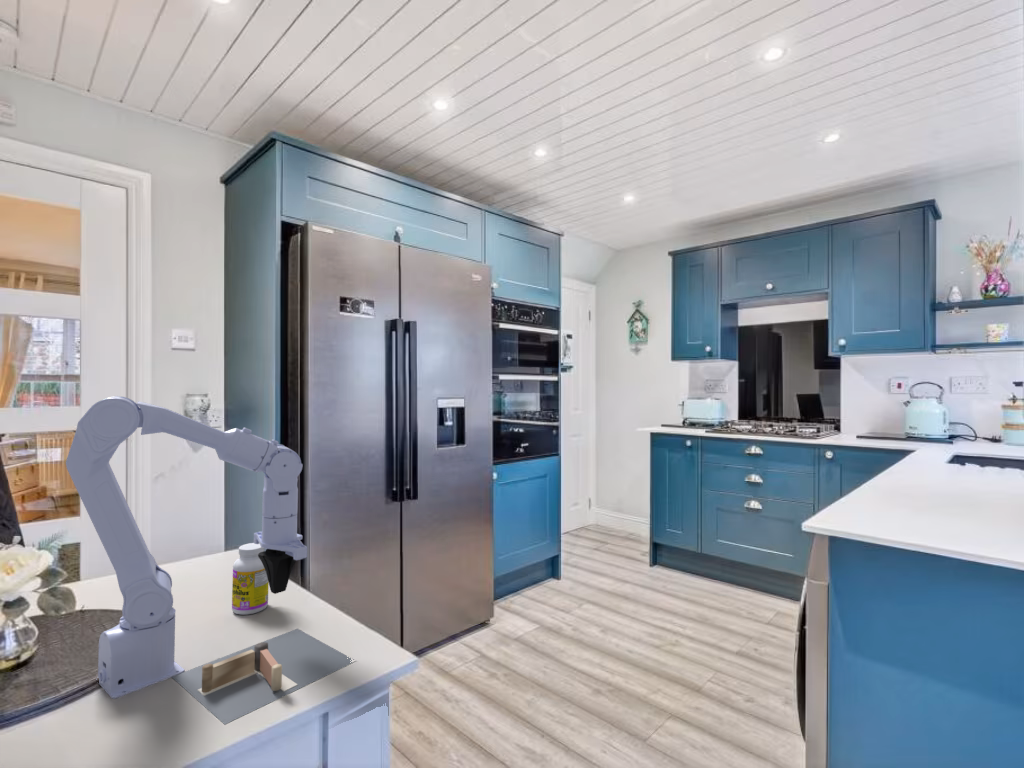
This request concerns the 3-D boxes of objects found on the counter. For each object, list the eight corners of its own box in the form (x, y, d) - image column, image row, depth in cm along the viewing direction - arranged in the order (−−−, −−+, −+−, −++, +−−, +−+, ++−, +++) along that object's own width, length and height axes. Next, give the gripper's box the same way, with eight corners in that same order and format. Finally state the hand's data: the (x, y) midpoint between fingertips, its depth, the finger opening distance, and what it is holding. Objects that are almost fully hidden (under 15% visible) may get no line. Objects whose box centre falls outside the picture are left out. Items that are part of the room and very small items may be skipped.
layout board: (224, 727, 70) (224, 723, 70) (171, 679, 81) (171, 676, 81) (356, 663, 87) (356, 660, 87) (297, 630, 98) (297, 628, 98)
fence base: (205, 695, 77) (205, 670, 77) (199, 690, 78) (199, 665, 78) (270, 667, 85) (270, 645, 85) (263, 663, 86) (264, 641, 86)
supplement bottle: (224, 611, 106) (225, 547, 106) (254, 599, 111) (255, 539, 111) (245, 618, 102) (247, 553, 102) (275, 606, 108) (276, 544, 108)
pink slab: (258, 670, 83) (258, 650, 83) (267, 667, 84) (268, 647, 84) (272, 691, 77) (273, 670, 77) (282, 688, 78) (283, 666, 78)
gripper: (323, 517, 92) (322, 594, 92) (280, 504, 100) (278, 575, 100) (285, 525, 86) (283, 608, 86) (242, 510, 95) (241, 585, 95)
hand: (278, 591), depth 93 cm, fingers closed
